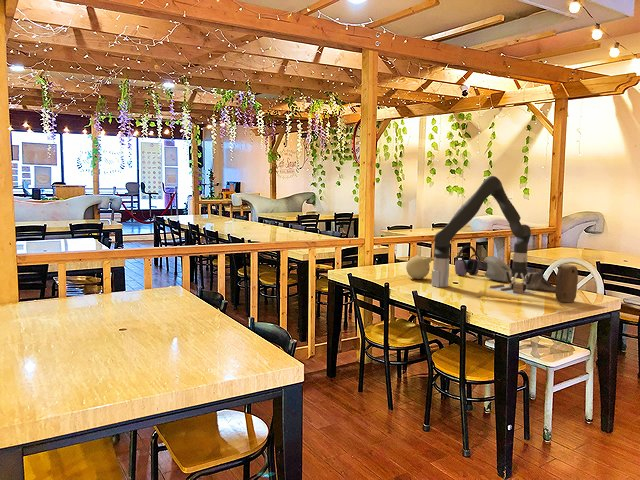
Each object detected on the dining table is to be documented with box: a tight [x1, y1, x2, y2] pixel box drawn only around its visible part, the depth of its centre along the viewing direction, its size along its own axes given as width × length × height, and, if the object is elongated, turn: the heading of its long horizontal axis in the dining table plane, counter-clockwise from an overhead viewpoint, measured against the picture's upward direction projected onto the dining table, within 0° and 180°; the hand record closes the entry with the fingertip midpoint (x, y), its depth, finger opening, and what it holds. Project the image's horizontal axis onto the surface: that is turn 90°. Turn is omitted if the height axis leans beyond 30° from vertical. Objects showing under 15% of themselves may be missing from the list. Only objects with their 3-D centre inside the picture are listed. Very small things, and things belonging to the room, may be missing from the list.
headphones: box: [454, 245, 481, 277], centre depth 353 cm, size 9×17×20 cm, turn 120°
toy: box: [405, 253, 433, 280], centre depth 336 cm, size 17×15×15 cm
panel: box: [486, 283, 537, 296], centre depth 298 cm, size 16×22×4 cm
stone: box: [554, 263, 579, 303], centre depth 276 cm, size 12×7×20 cm, turn 122°
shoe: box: [525, 271, 556, 294], centre depth 298 cm, size 25×11×12 cm, turn 49°
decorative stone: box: [483, 255, 513, 283], centre depth 334 cm, size 12×17×15 cm
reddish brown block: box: [513, 281, 524, 295], centre depth 293 cm, size 9×5×5 cm, turn 156°
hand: (518, 290), depth 293 cm, fingers open, 5 cm apart
